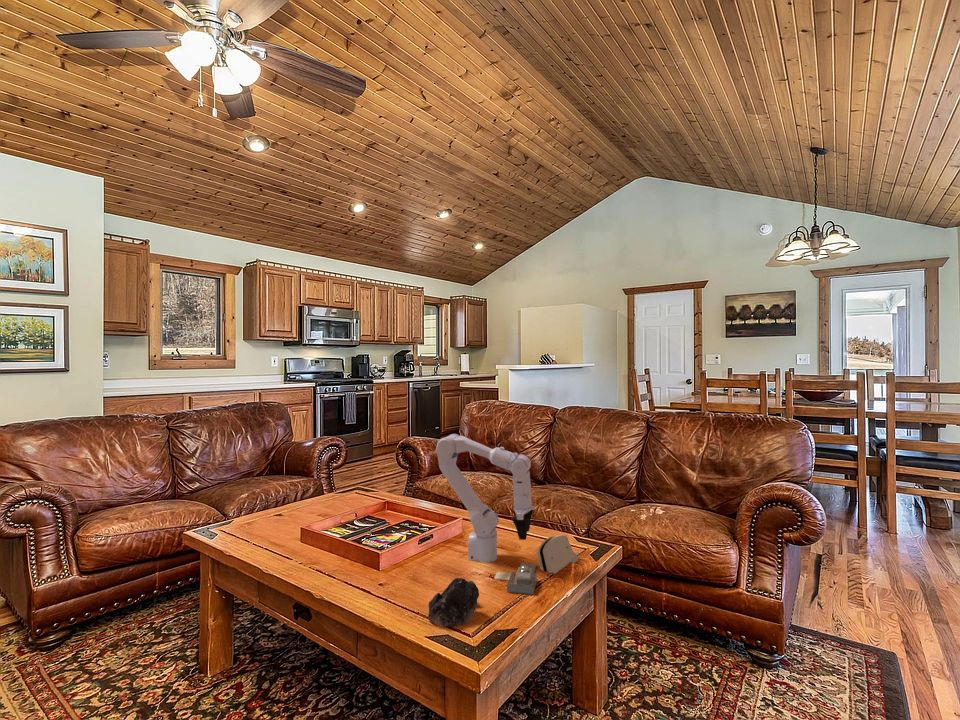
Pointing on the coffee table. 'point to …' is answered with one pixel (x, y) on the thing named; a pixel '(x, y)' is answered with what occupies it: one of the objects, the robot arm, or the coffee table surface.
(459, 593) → the black rock
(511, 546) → the coffee table surface
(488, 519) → the robot arm
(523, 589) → the flange rail
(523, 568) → the block
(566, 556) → the grey rounded housing
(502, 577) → the pad
